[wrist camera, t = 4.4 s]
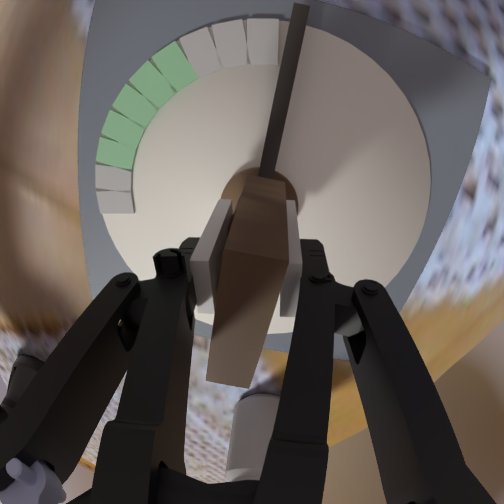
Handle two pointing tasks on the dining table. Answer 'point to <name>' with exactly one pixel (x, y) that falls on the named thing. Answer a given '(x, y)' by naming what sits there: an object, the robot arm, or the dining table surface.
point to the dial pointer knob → (256, 239)
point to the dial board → (254, 133)
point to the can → (251, 436)
